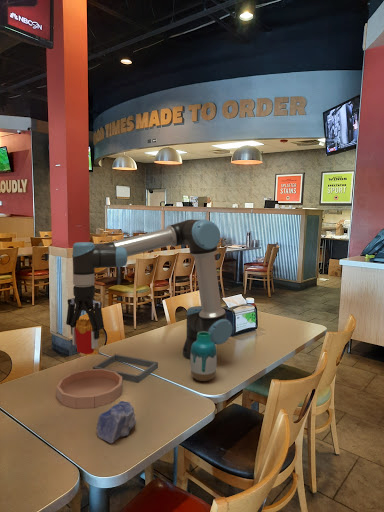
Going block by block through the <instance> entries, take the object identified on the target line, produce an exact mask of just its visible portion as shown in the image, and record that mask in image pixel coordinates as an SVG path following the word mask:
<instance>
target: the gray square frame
mask: <svg viewBox="0 0 384 512" xmlns="http://www.w3.org/2000/svg"><path fill="white" fill-rule="evenodd" d="M114 362H123V363H127V364H131V365H136V366H137V365H138V366H141V367H146V368H145V370H143V371H141V372H140V373H139V374H138V375H137V374H132V373H128V372H124V371H118V370H114V369H110V368H109V369H108V368H106V367H108V366H110V365H111V364H113V363H114ZM109 364H110V365H109ZM158 368H159V363H158V361H152V360H148V359H143V358H142V359H141V358H138V357H137V358H136V357H132V356H126V355H121V354H116V353H115V354H113V355H111V356H109V357H107V358H106V359H104V360H103V361H101V362H99V363H98V364H95V365H94V366H92V369H106V370H110V371H115V372H117V373H118V374H119V375H120V376H122V380H123V381H124V380H125V381H127V382H132V383H137V384H139V383H140V382H141V381H143V380H144V379H145V378H147V377H148V376H149V375H150V374H152V373H153V372H154V371H156V370H157V369H158Z"/></svg>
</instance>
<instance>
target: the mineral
mask: <svg viewBox="0 0 384 512" xmlns="http://www.w3.org/2000/svg"><path fill="white" fill-rule="evenodd" d="M131 403H132V402H131V401H124V400H119V402H117V404H114V405H113V406H112V407H110V408H109V409H108V410H106V411H104V412H102V413H100V414H99V415H98V418H97V424H96V427H95V428H96V430H97V431H96V432H97V433H96V436H97V438H99V439H101V440H104V441H105V442H108V443H110V444H113V443H115V442H116V440H118V439H119V438H122V437H125V436H126V437H127V436H128V435H130V431H131V430H132V429H133V428H134V426H135V425H136V424H137V419H136V414H135V409H134V406H133V405H132V404H131Z"/></svg>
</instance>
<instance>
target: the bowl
mask: <svg viewBox="0 0 384 512" xmlns="http://www.w3.org/2000/svg"><path fill="white" fill-rule="evenodd" d="M106 369H107V368H105V369H93V368H89V369H84V370H80V371H75V372H71V373H69V374H67V375H66V376H64V377H62V378H61V379H59V382H57V383H58V384H57V385H56V399H57V400H58V402H59V403H60V404H61V405H62V406H66V407H69V408H73V409H78V410H79V409H94V408H98V407H103V406H104V405H107V404H112V403H113V402H114V401H115V400H116V399H119V397H121V396H122V393H123V381H124V380H123V379H122V376H120V375H119V374H118V373H117V372H115V371H116V370H114V371H110V370H111V369H109V370H106Z"/></svg>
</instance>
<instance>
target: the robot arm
mask: <svg viewBox="0 0 384 512" xmlns="http://www.w3.org/2000/svg"><path fill="white" fill-rule="evenodd" d="M220 241H221V231H220V229H219V226H217V224H216V223H215V222H213V221H212V220H207V219H186V220H183V221H179V222H177V223H173V224H169V225H167V226H166V228H163V229H159V230H155V231H151V232H147V233H143V234H138V235H135V236H131V237H126V238H121V239H118V240H112V241H110V242H109V241H108V242H105V243H97V244H94V242H91V241H90V242H89V241H86V242H85V241H83V242H82V241H81V242H75V243H73V245H72V284H73V288H72V292H73V296H74V298H69V299H67V311H66V326H69V327H70V334H71V335H70V336H71V337H72V345H73V346H77V344H76V334H75V327H76V323H77V322H76V321H77V320H80V317H81V315H82V312H83V311H84V312H85V314H86V315H87V316H88V319H89V320H90V322H91V325H92V328H93V330H92V331H91V342H92V349H94V350H95V348H96V349H97V348H98V347H99V339H100V331H101V330H103V329H104V328H105V324H104V317H103V310H102V306H103V303H102V301H96V300H95V295H96V286H95V283H96V282H95V281H96V280H95V277H96V276H95V273H96V270H95V269H100V268H101V269H103V268H121V267H122V268H123V267H125V266H126V265H127V262H128V257H130V256H135V255H139V254H143V253H147V252H150V251H154V250H159V249H161V248H165V247H169V246H171V247H174V248H175V247H180V246H188V249H189V254H190V255H191V256H192V257H193V258H194V263H195V264H194V265H195V272H196V277H197V279H196V280H197V285H198V286H197V287H198V293H199V299H200V305H196V306H191V307H188V308H187V309H186V338H185V342H184V344H183V348H182V356H183V357H184V358H187V359H189V360H190V356H191V346H192V344H193V343H194V342H195V341H196V340H197V333H198V332H202V331H205V332H209V333H210V334H211V341H212V342H213V343H214V344H215V345H216V346H217V345H222V344H225V343H226V342H228V340H230V337H231V336H232V334H233V325H232V323H231V321H230V320H228V319H227V314H226V310H225V309H224V308H223V307H222V303H221V301H222V300H221V296H220V287H219V281H218V271H217V264H216V257H215V254H216V253H217V251H218V245H219V243H220Z"/></svg>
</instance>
